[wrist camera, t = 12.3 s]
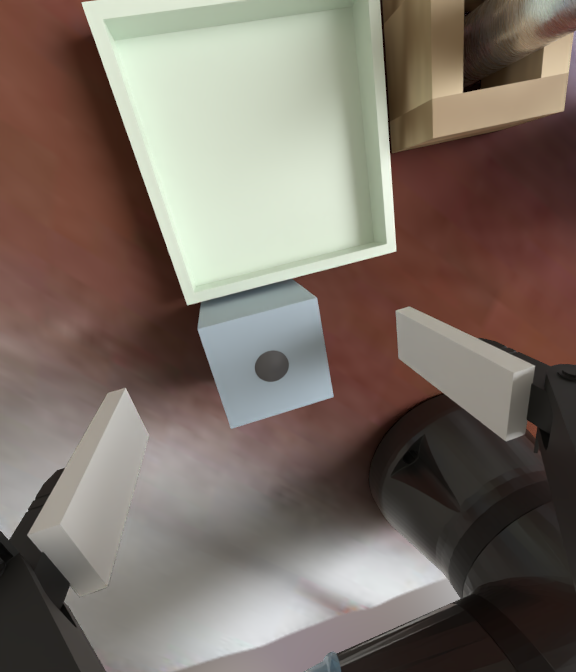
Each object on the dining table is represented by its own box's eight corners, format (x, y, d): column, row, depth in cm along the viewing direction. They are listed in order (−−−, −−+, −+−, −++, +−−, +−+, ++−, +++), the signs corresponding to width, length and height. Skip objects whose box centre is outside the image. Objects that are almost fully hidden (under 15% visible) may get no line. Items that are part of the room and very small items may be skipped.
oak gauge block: (501, 129, 21) (563, 110, 17) (391, 153, 20) (433, 138, 16) (511, -35, 18) (589, -101, 14) (381, -18, 16) (429, -85, 13)
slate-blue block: (304, 355, 23) (333, 397, 18) (226, 377, 23) (231, 429, 17) (289, 277, 21) (317, 297, 16) (201, 299, 20) (197, 329, 15)
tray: (379, 248, 22) (396, 251, 20) (189, 296, 20) (187, 305, 18) (357, -4, 16) (377, -35, 14) (99, 31, 15) (81, 2, 13)
